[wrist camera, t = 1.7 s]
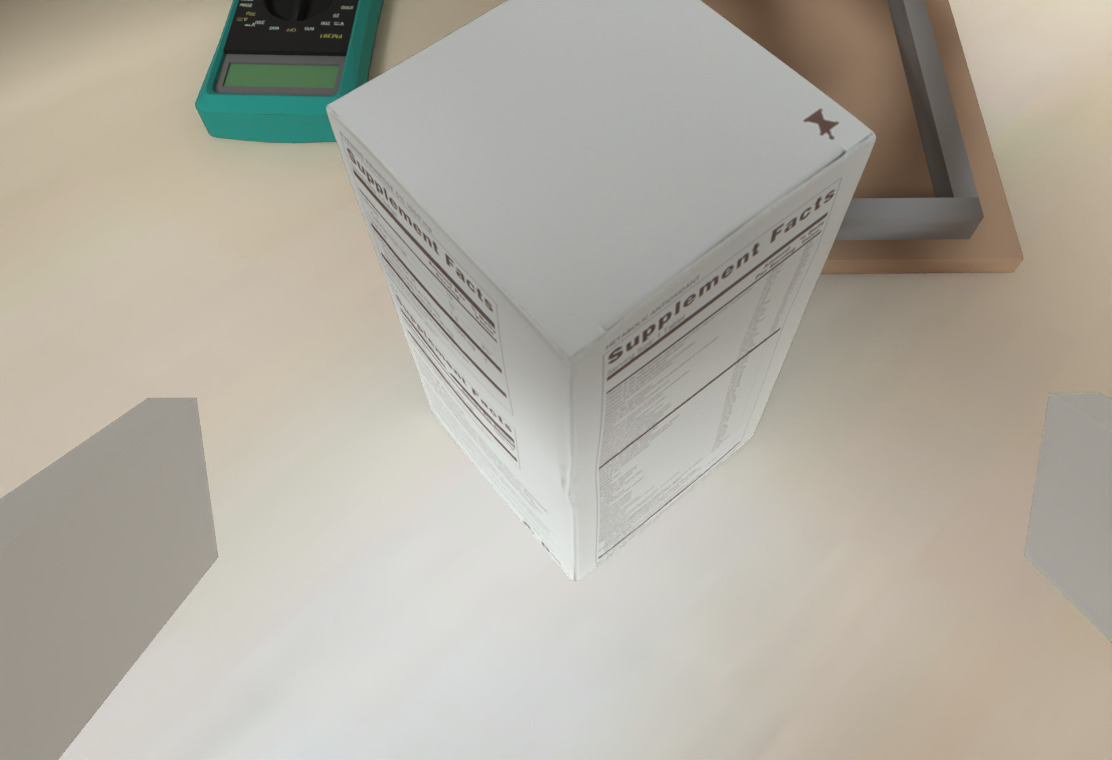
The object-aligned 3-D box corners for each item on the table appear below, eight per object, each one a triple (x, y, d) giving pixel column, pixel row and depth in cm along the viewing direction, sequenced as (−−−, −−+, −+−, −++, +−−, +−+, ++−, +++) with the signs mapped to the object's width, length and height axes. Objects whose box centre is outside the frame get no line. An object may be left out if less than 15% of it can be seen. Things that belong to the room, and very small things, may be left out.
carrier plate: (542, 275, 38) (539, 240, 36) (546, -10, 47) (544, -53, 45) (1013, 272, 38) (1039, 236, 36) (931, -16, 46) (949, -59, 44)
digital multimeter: (401, -54, 49) (391, -104, 47) (361, 151, 42) (346, 106, 40) (270, -55, 50) (253, -105, 47) (209, 149, 43) (185, 103, 40)
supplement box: (605, 283, 38) (622, -80, 23) (761, 435, 35) (898, 122, 20) (422, 414, 36) (309, 97, 21) (571, 592, 32) (566, 365, 17)
